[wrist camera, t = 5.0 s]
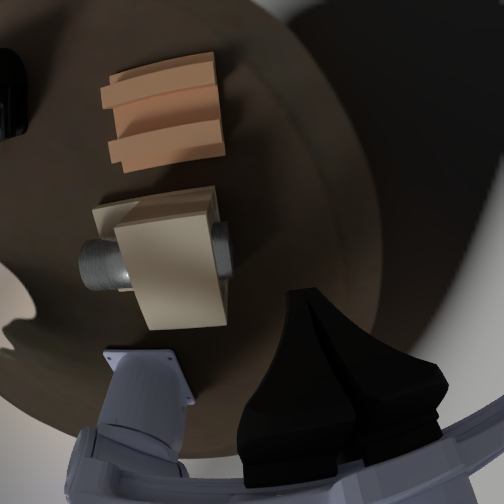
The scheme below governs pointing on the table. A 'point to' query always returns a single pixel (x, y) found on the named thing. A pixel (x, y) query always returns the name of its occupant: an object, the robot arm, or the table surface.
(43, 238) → the table surface
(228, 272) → the axle
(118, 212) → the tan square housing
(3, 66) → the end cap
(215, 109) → the cradle
